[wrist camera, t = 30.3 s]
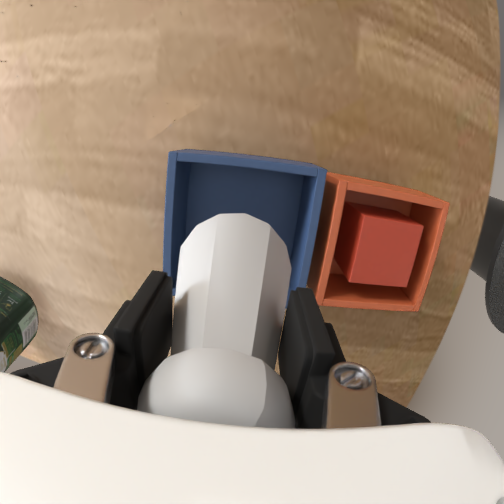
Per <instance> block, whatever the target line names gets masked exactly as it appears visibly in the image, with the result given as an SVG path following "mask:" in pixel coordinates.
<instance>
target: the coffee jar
mask: <svg viewBox="0 0 504 504" xmlns="http://www.w3.org/2000/svg"><path fill="white" fill-rule="evenodd" d="M37 329H38V313H37V309H36V306H35V304H34V302H33V300H32V298H31V297H30V296H29V295H28V294H27V293H26V292H25V291H23V290H22V289H20V288H19V287H17V286H16V285H14V284H13V283H11V282H9V281H8V280H6V279H4V278H2V277H0V372H5V371H6V370H7V369H8V368H9V366H10V365H11V364H12V363H13V362H14V361H15V359H16V358H17V357H18V356H19V355H20V354H21V353H22V352H23V350H24V349H25V348H26V347H27V346H28V345H29V343H30V342H31V341H32V340H33V338H34V337H35V335H36V333H37Z"/></svg>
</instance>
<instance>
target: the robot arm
mask: <svg viewBox="0 0 504 504" xmlns="http://www.w3.org/2000/svg"><path fill="white" fill-rule="evenodd" d="M172 290H173V279H172V277H170V276H168V273H167V272H161V271H152V272H151V273H150V274H149V276H148V277H147V279H146V280H145V282H144V283H143V284H142V286H141V287H140V289H139V290H138V292H137V293H136V295H135V296H134V298H133V299H132V300H131V301H129V300H126V301H125V302H124V304H123V305H122V307H121V308H120V309H119V311H118V312H117V314H116V315H115V317H114V318H113V319H112V321H111V322H110V324H109V325H108V327H107V328H106V330H105V331H104V333H103V334H99V333H87V334H82V335H80V336H78V337H76V338H75V339H74V340H72V342H71V343H70V345H69V347H68V349H67V352H66V354H65V357H64V358H60V359H57V360H53V361H50V362H46V363H42V364H39V365H35V366H32V367H28V368H24V369H21V370H17V371H15V372H12V373H11V374H8V373H4V372H0V504H504V462H503V460H502V458H501V457H500V455H499V454H498V452H497V451H496V449H495V448H494V447H493V445H492V444H491V443H490V442H489V441H488V440H487V438H486V437H485V436H483V435H482V434H481V433H479V432H478V431H476V430H474V429H471V428H468V427H465V426H460V425H454V424H448V423H431V422H430V421H429V420H428V419H426V418H425V417H423V416H421V415H419V414H417V413H416V412H414V411H412V410H410V409H408V408H406V407H404V406H402V405H400V404H398V403H396V402H394V401H393V400H391V399H389V398H387V397H385V396H383V395H381V394H380V393H378V392H377V386H376V380H375V377H374V375H373V373H372V372H371V371H370V370H369V369H367V368H366V367H365V366H362V365H360V364H358V363H354V362H346V360H345V358H344V355H343V352H342V350H341V347H340V344H339V342H338V339H337V337H336V334H335V331H334V329H333V326H332V324H331V323H324V320H323V317H322V315H321V312H320V309H319V306H318V304H317V301H316V298H315V296H314V293H313V290H312V288H303V287H297V288H296V290H295V291H294V290H291V291H290V295H289V300H288V305H287V311H286V316H285V321H284V326H283V330H282V335H281V340H280V345H279V351H278V360H279V369H280V376H281V377H282V378H283V380H284V382H285V383H286V385H287V388H288V392H289V395H290V399H291V402H292V406H293V412H294V417H295V422H296V424H295V429H288V428H265V427H249V426H237V425H226V424H217V423H209V422H201V421H194V420H187V419H180V418H174V417H168V416H163V415H157V414H152V413H147V412H142V411H137V407H138V397H139V395H140V392H141V390H142V387H143V385H144V383H145V380H146V379H147V378H148V377H149V376H150V375H151V374H152V373H153V372H154V370H155V369H156V368H157V367H158V366H159V365H160V364H161V363H162V362H163V361H164V359H165V358H166V357H167V356H168V353H169V350H170V347H171V343H172V329H173V328H172Z"/></svg>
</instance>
